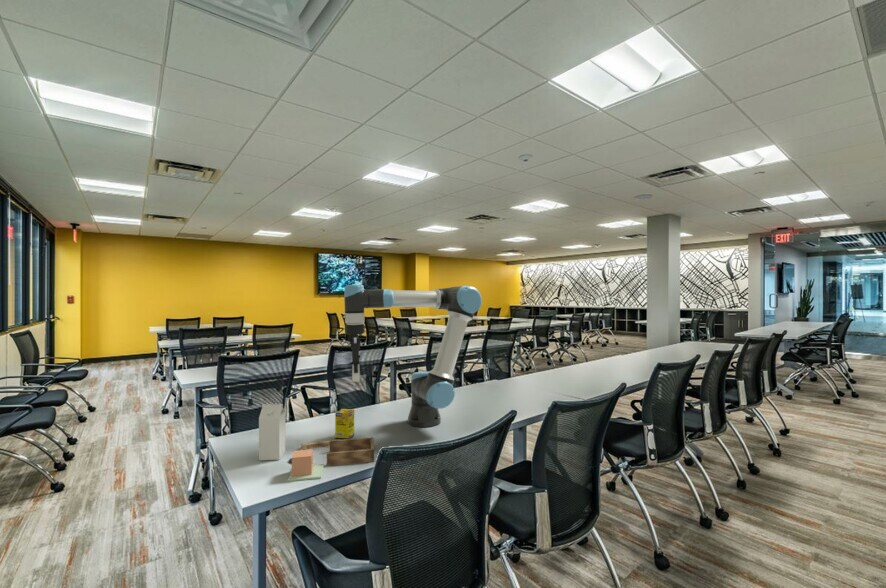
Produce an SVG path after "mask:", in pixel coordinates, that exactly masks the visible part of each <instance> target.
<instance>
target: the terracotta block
mask: <svg viewBox="0 0 886 588" xmlns="http://www.w3.org/2000/svg"><path fill="white" fill-rule="evenodd" d="M291 458H292V464H291V471H292V477H294V476H304V475H312V470H313V465H314V448H311V449H307V450H302V449H300V450H298V449H297V450H294V451H293V454H292V455H291Z"/></svg>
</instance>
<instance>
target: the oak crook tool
mask: <svg viewBox="0 0 886 588" xmlns="http://www.w3.org/2000/svg"><path fill="white" fill-rule="evenodd" d="M330 440H331V439H330ZM330 440H324V441H316V442H315V441H314V442H309V443H301V449H300V450H310V449H317V448H318V449H319V448H325V447H330ZM335 440H339V439H335Z"/></svg>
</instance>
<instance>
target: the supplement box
mask: <svg viewBox="0 0 886 588" xmlns="http://www.w3.org/2000/svg"><path fill="white" fill-rule="evenodd" d="M334 416H335V420H334V421H335V423H334V425H335V426H334V427H335V435H334V436H335V439H334V440H336V439H339V440H343V439H352V438H353V437H354V436H355V409H348V408H341V409H339V410H338V411H336V412H335V413H334Z"/></svg>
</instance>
